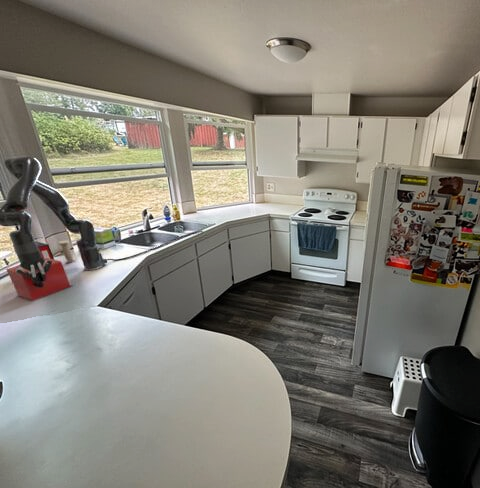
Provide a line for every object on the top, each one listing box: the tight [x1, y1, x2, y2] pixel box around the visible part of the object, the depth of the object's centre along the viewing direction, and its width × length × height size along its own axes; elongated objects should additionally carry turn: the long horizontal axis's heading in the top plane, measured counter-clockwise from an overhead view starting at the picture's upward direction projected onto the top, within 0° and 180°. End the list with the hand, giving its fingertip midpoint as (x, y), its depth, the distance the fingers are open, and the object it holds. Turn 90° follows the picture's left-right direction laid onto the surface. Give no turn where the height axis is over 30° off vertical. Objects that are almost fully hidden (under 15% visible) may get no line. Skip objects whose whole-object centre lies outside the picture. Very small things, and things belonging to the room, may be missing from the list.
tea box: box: [93, 226, 116, 250], centre depth 202 cm, size 15×10×15 cm, turn 80°
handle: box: [58, 239, 75, 263], centre depth 173 cm, size 5×6×15 cm
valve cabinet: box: [5, 258, 61, 301], centre depth 137 cm, size 12×16×16 cm
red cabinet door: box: [20, 261, 71, 301], centre depth 135 cm, size 6×16×16 cm, turn 161°
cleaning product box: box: [12, 240, 55, 260], centre depth 154 cm, size 16×9×20 cm, turn 70°
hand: (40, 281), depth 129 cm, fingers closed on red cabinet door, 2 cm apart
